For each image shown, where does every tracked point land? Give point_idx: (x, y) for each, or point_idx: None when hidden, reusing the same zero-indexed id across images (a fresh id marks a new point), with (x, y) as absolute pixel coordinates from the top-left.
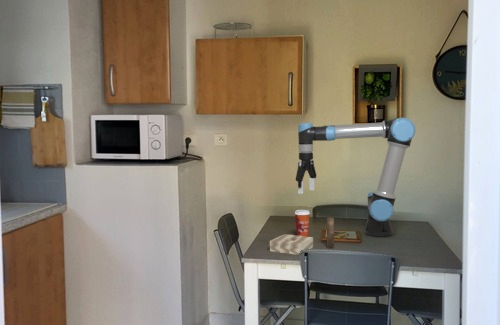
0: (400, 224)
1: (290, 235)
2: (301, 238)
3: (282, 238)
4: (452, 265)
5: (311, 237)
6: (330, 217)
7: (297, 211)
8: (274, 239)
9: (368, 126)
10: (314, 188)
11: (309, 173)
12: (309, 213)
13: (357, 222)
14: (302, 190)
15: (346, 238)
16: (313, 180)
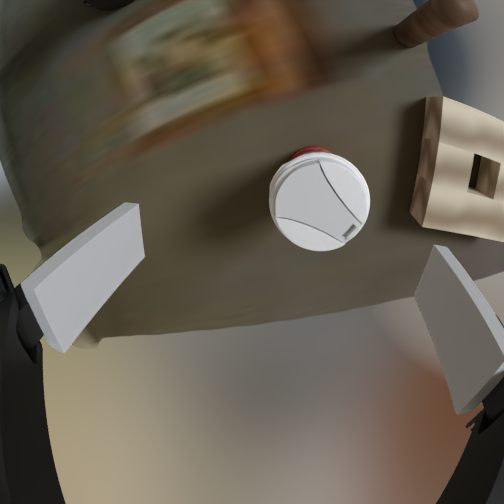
0: (23, 8)
1: (439, 196)
2: (471, 141)
3: (480, 212)
4: None
5: (447, 102)
6: (453, 1)
7: (332, 236)
8: (492, 234)
9: None
10: (116, 210)
11: (37, 420)
12: (319, 154)
13: (27, 104)
14: (462, 272)
15: (238, 10)
16: (59, 274)
